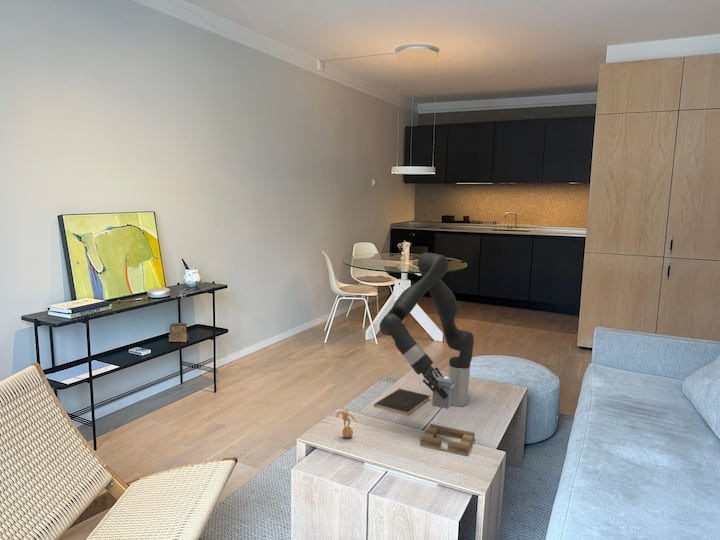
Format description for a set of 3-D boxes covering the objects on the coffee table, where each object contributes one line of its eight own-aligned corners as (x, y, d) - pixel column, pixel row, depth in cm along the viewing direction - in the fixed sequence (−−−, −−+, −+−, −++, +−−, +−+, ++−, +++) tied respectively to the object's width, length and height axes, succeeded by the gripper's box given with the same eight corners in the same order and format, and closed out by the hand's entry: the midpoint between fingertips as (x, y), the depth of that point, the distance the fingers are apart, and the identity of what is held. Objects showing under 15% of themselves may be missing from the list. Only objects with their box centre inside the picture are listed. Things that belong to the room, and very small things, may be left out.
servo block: (432, 401, 193) (434, 373, 192) (453, 405, 190) (455, 376, 189) (429, 405, 189) (431, 376, 188) (450, 409, 186) (452, 380, 185)
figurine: (359, 437, 191) (361, 406, 189) (352, 443, 185) (353, 412, 184) (340, 432, 194) (341, 402, 193) (332, 438, 189) (333, 407, 188)
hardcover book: (429, 400, 233) (429, 395, 233) (407, 416, 214) (407, 411, 213) (398, 393, 241) (398, 388, 241) (374, 407, 222) (374, 402, 222)
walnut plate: (430, 430, 200) (430, 423, 200) (474, 439, 194) (474, 432, 193) (420, 445, 186) (420, 439, 186) (466, 456, 180) (467, 449, 180)
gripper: (419, 357, 184) (450, 396, 181) (430, 348, 197) (459, 384, 194) (404, 369, 187) (435, 407, 183) (416, 359, 200) (444, 395, 197)
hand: (447, 395), depth 189 cm, fingers closed on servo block, 4 cm apart
